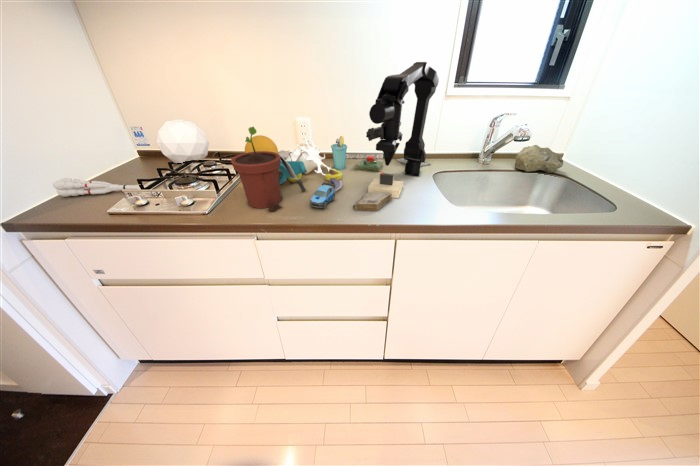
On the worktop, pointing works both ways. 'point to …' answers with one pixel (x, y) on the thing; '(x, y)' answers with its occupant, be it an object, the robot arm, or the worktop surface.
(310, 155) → the white branched figurine
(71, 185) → the rocket model
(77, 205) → the worktop surface
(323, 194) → the toy car
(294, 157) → the white small pieces
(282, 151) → the seashell
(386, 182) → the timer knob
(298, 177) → the fruit
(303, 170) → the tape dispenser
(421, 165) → the napkin holder
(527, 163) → the rock
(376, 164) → the box
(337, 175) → the knife
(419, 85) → the robot arm
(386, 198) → the stone
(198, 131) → the geometric form
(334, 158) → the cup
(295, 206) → the worktop surface
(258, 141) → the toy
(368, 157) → the power button
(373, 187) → the panel
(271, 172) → the potted plant
